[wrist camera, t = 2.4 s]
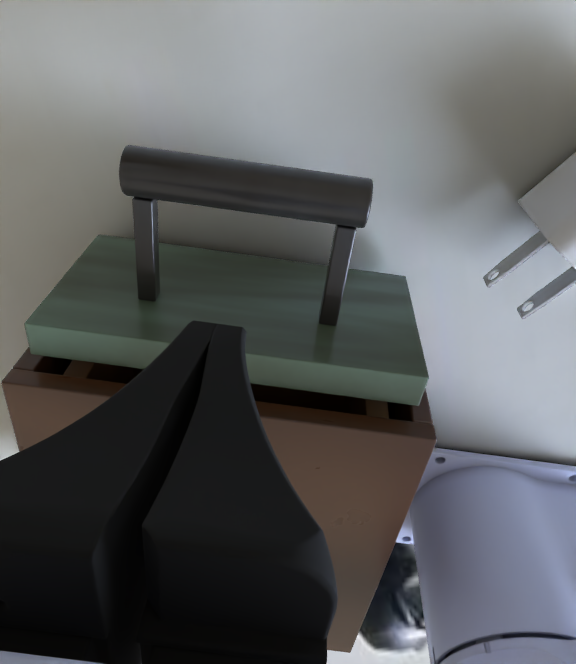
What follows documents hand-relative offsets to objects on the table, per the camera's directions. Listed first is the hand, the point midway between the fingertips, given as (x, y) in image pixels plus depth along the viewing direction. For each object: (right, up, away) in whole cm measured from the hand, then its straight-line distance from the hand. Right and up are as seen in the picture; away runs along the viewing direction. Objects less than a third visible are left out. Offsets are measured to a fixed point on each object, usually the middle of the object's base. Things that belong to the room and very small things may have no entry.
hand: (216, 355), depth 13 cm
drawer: (0, 0, +10) cm, 10 cm away
